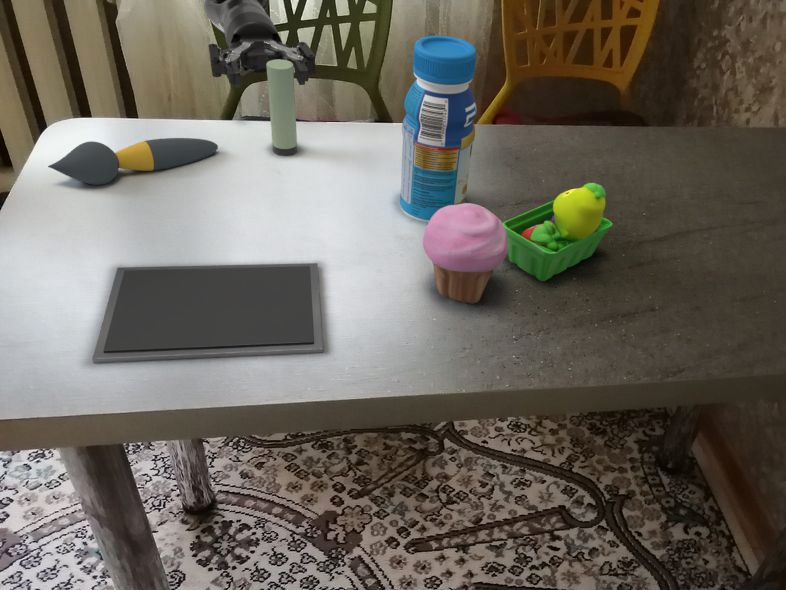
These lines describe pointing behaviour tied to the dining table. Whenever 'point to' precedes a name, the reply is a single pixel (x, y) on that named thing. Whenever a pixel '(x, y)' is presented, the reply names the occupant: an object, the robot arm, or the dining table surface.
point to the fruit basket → (558, 232)
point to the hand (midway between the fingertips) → (270, 79)
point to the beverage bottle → (438, 127)
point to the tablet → (211, 312)
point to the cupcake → (464, 249)
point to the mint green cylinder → (282, 107)
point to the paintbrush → (130, 158)
